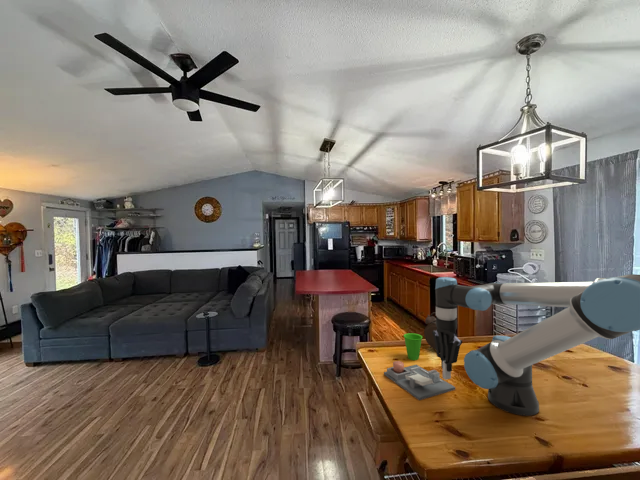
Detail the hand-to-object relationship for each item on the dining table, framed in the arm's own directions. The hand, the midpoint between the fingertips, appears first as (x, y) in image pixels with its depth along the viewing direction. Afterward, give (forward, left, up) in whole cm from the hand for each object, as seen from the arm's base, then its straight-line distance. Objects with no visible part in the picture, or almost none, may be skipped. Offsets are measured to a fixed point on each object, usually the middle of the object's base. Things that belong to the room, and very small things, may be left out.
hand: (446, 378), depth 110 cm
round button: (+17, +10, -2) cm, 20 cm away
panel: (+11, +5, -5) cm, 13 cm away
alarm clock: (+32, -28, -5) cm, 43 cm away
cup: (+30, -9, -5) cm, 31 cm away
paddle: (+7, +8, -2) cm, 11 cm away
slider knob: (+7, 0, -4) cm, 8 cm away
